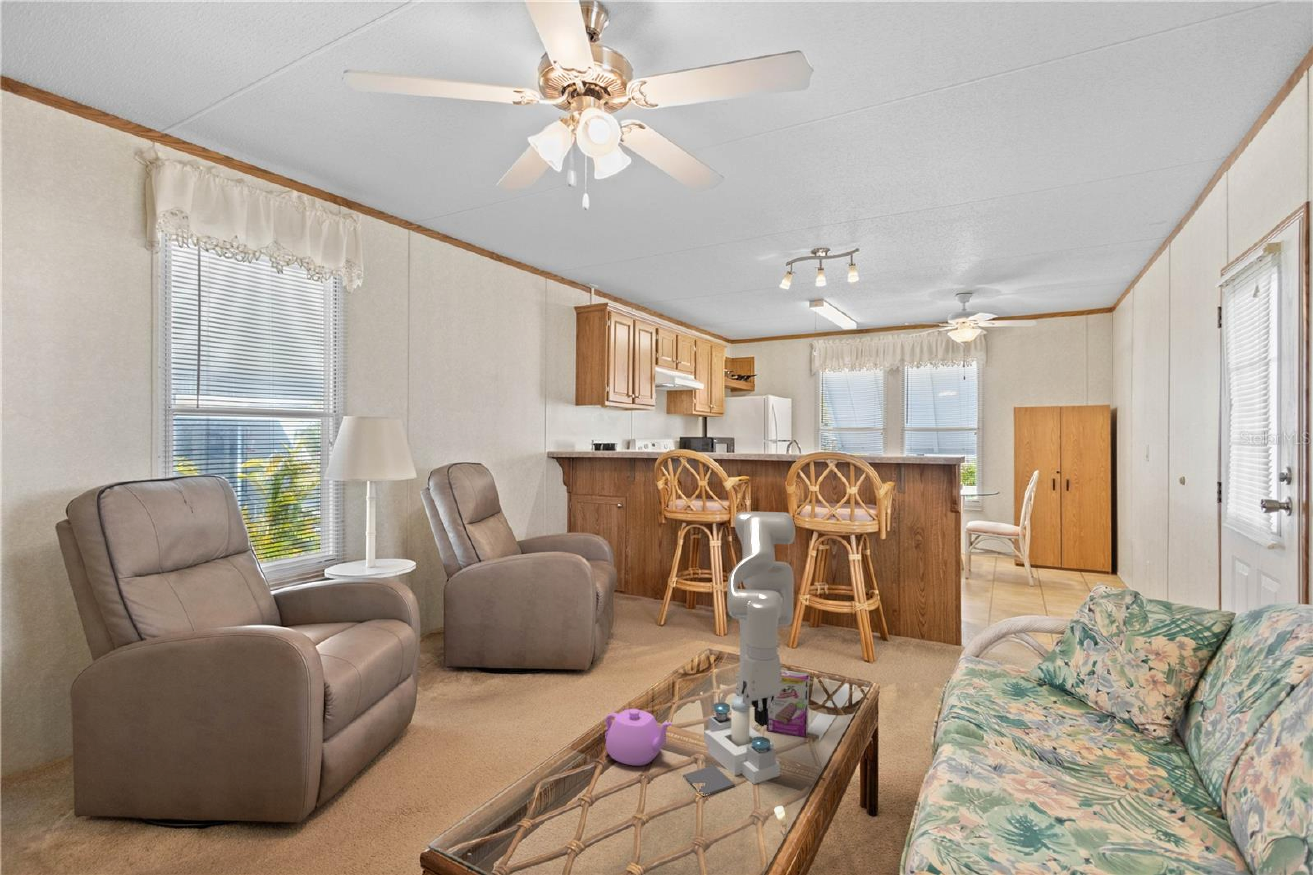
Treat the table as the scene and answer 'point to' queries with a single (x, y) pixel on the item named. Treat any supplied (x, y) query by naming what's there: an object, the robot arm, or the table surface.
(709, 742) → the housing
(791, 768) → the table surface
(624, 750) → the teapot
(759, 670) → the robot arm
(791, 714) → the candy bar box
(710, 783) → the mat
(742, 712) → the cylinder
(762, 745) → the plunger
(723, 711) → the plunger
